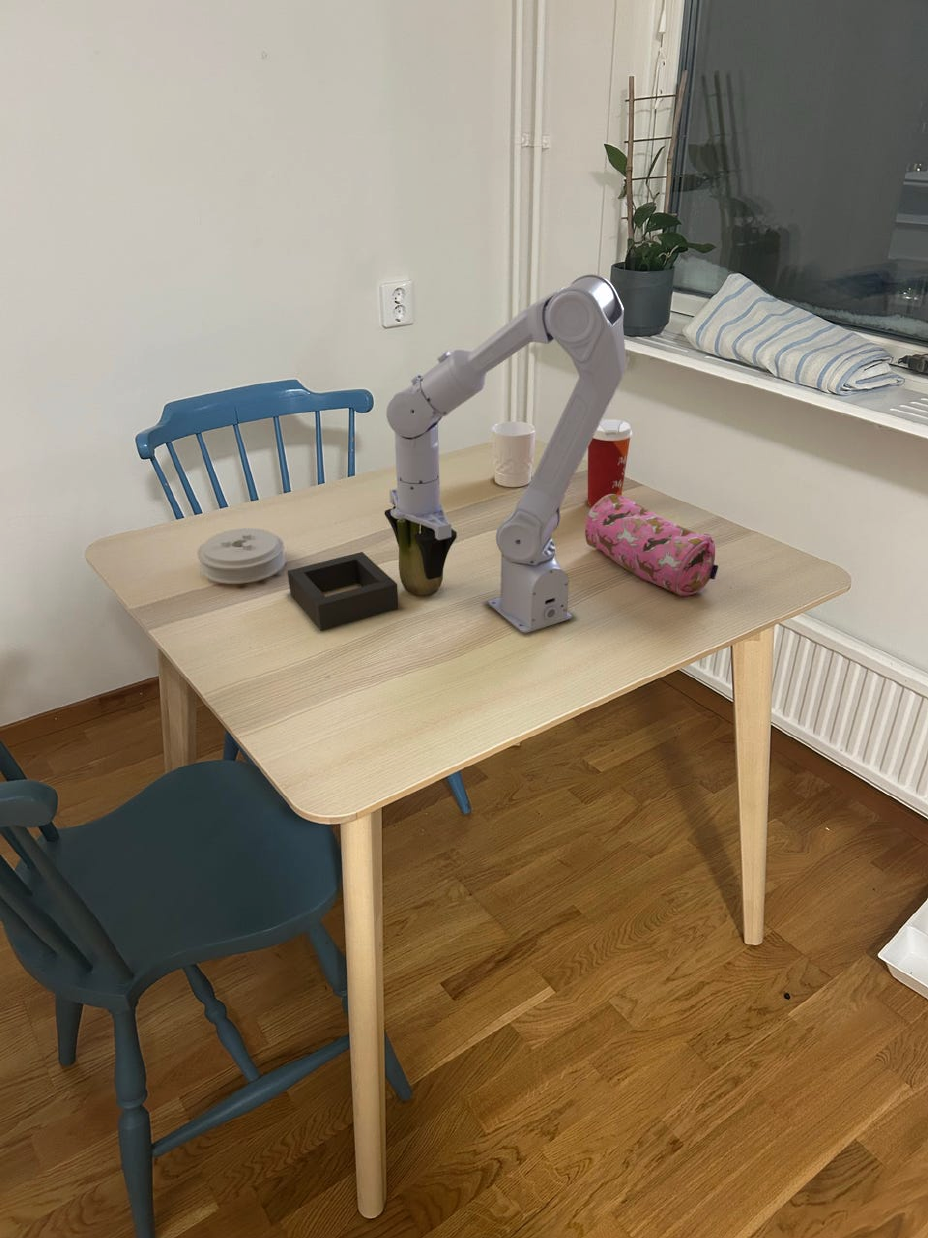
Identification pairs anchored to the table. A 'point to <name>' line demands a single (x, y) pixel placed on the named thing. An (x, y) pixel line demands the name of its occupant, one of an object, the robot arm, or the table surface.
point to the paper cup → (607, 459)
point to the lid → (241, 556)
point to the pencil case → (651, 545)
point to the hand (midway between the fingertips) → (421, 566)
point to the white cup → (513, 453)
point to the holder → (345, 606)
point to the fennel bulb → (414, 562)
